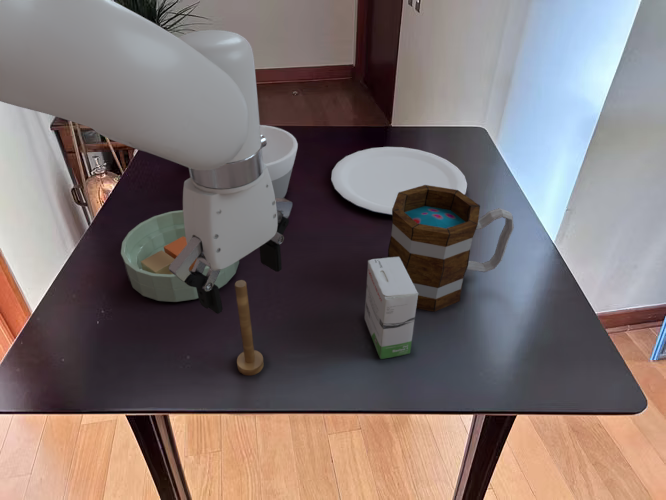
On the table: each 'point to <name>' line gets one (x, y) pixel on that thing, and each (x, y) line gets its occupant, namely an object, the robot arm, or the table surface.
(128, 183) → the table surface
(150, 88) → the robot arm
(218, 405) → the table surface
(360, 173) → the plate
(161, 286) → the stir bowl
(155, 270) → the maple block
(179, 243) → the orange block
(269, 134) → the bowl
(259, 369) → the stirrer
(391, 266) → the ink box
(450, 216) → the mug
